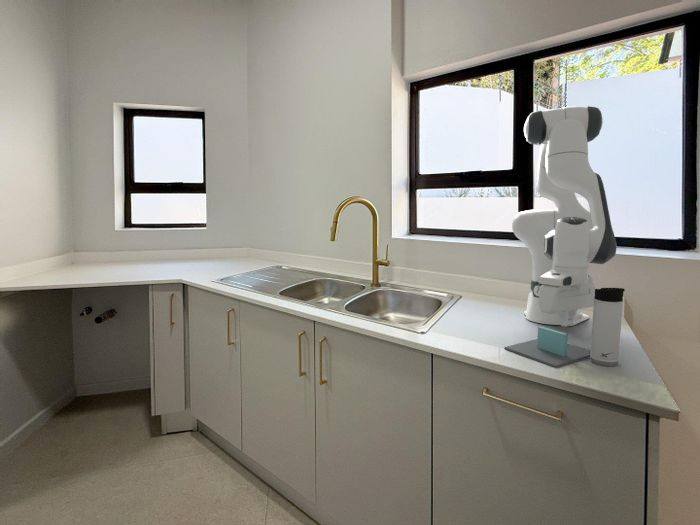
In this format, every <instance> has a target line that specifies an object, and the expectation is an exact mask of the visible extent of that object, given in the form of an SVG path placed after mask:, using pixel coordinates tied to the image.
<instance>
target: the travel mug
mask: <svg viewBox="0 0 700 525" xmlns="http://www.w3.org/2000/svg"><path fill="white" fill-rule="evenodd" d="M624 292H625V288H623V287H600V288H595V296H594V300H595V301H594V306H593V307H592V308H593V310H592V311H593V312H592V323H591V324H592V325H591V336H590V338H591V340H590V350H591V351H590V357H589V361H591V362H592V363H593V364H595V365H599V366H603V367H615V366H617V365H619V358H620V356H619V354H620V346H621V344H620V343H621V342H620V341H621V331H622V320H623V319H622V318H623V307H624V304H623V303H624V298H623V297H624Z"/></svg>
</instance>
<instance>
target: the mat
mask: <svg viewBox="0 0 700 525" xmlns="http://www.w3.org/2000/svg"><path fill="white" fill-rule="evenodd" d="M537 340H538V338H535V339H532V340H528V341H527V340H526V341H523V342H519V343H514V344H512V345H507V346H504V350H506V351H508V352H512V353H514V354H517V355H520V356H523V357H526V358H528V359H530V360H534V361H536V362H539V363H542V364H545V365H548V366H550V367H553V368H555V369H557V368H559V367H563V366H567V365H569V364H572V363H573V364H574V363H576V362H579V361H582V360H585V359H590V351H591V349H587V348H585V347H580V346H577V345H575V344H571V343H568V342H567V356H561V355H558V354H555V353H552V352H549V351H546V350H543V349H540V348H537Z"/></svg>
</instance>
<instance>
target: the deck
mask: <svg viewBox="0 0 700 525" xmlns="http://www.w3.org/2000/svg"><path fill="white" fill-rule="evenodd" d="M568 338H569V333H565V332H563V331H558V330H555V329H552V328H549V327H545V326H539V327H537V339H538V340H537V348H540V349H543V350H546V351H549V352H552V353H555V354H558V355H561V356H567V343H568V341H569V340H568Z"/></svg>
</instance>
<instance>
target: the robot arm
mask: <svg viewBox="0 0 700 525" xmlns="http://www.w3.org/2000/svg"><path fill="white" fill-rule="evenodd" d="M603 122H604V121H603V115H602V111H601V110H600V109H599V108H598V107H595V106H589V105H586V106H584V107H583V106H563V107H561V108H552V109H547V110H546V109H545V110H537V111H533V112H531V113H529V115H528V116H527V118H526V120H525V123H524V126H523V133H524V134H523V135H524V137H525V138H526V139H525V140H526V142H528V143H529V144H531V145H533V146H534V145H535V146H540V149H539V156H538V163H537V176H536V177H537V179H536V190H537V193H538V194H539V195H540V196H541V197H543V198H544V199H547V200H548V201H552V203H554V205H555V208H552V209H529V210H524V211H519V212H518V213H516V215H514V218H513V220H512V225H511V226H512V228H511V229H512V232H513V234H514V236H515V237H516V238H517V239H518V240H520V241H521V242H522V243H523V244H524V245H525V246H526V247H527V249H528V250H529V253H530V255H531V256H530V257H531V260H532V278H531V281H530V290H531V291H530V292H529V293H528V298H527V302H526V305H527V306H526V310H524V312H523V314H524V316H525V319H527V320H528V321H530V322H533V323H537V324H543V325H553V326H556V325H557V326H561V327H572V326H575V325H578V324H580V323H582V322H584V321H586V320H588V319H590V318H589V317H590V316H589V315H588V314H585V313H583V312H582V309H587V308H593V307H594V301H595V300H594V296H595V289H596V287H595V283H594V282H593V277H592V276H591V275H590V274H589V266H590V265H589V264H596V265H603V264H606V263H608V262H609V261H611V260H612V259H613V258H614V257H615V256H616V253H617V241H616V236H615V233H614V230H613V229H614V228H613V227H612V222H611V216H610V210H609V206H608V199H607V195H606V190H605V186H604V182H603V180H602V177H601V175H600V174H599V173H597V172H595V171H594V170H593V169H592V167H591V165H590V162H589V145H588V144H589V143H590V142H591V141H593V140H595V139H596V138H597V137H598V136H599V135H600V132H601V130H602V127H603ZM576 194H577V195H579V196H582V197H583V198H584V199H585V200H586V201H587V203H588V206H589V210H587V209H586V208H585V207H583V205H582V204H581V203H580V202H579V200H578V198H577V196H576Z"/></svg>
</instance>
